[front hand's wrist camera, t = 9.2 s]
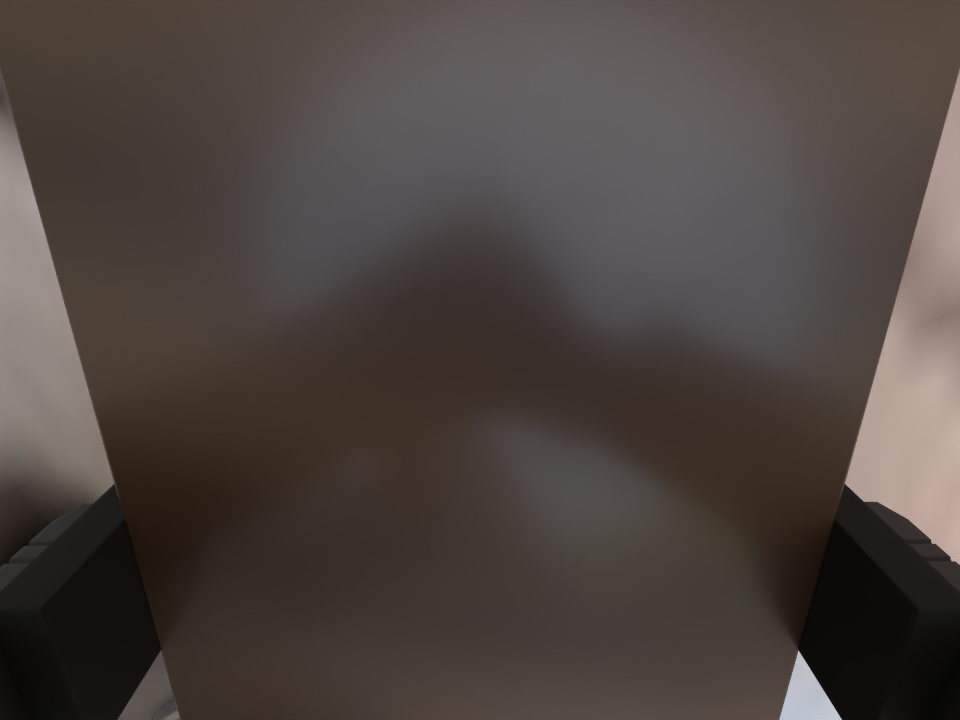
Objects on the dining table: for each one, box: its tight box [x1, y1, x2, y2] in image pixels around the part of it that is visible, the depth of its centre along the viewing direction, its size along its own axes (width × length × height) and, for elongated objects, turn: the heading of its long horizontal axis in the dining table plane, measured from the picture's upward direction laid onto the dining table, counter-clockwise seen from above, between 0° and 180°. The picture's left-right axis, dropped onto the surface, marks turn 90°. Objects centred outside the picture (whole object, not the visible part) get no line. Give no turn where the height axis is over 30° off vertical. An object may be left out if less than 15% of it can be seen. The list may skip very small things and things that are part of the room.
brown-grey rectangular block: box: [0, 0, 960, 720], centre depth 12 cm, size 19×11×11 cm, turn 0°
